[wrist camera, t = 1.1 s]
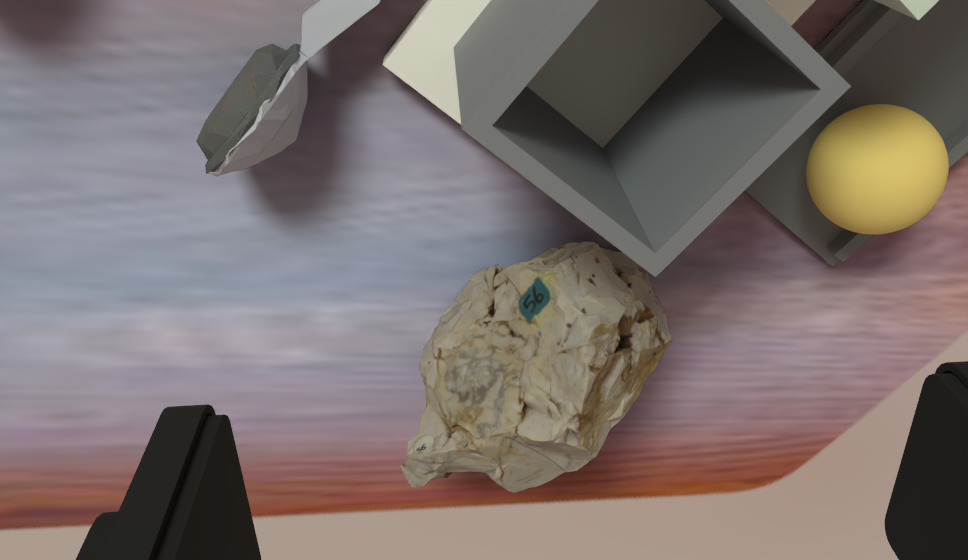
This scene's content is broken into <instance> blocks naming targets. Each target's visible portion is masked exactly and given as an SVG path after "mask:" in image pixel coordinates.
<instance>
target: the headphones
mask: <svg viewBox="0 0 968 560" xmlns="http://www.w3.org/2000/svg"><path fill="white" fill-rule="evenodd" d="M379 2H380V0H320V1H319V2H317V3H316V4H315V5H313V6H312V7H311V8H309V9H308V10H307V11H306V12H304V13H303V16H302V45H301V46H300V45H298V44H294V45H292V46H291V47H290V48H289V49H288V50H287V51H286V50H284V49H282V48H280V47H278V46H276V45H274V44H270V45H268V46H265V47H263V48H260V49H258V50H256V51H255V53H254V54H253V55H252V57H251V58H250V59H249V61H248V62H247V64H246V65H245V66H244V68H243V69H242V70H241V72H240V73H239V74H238V76H237V77H236V79H235V80H234V81H233V83H232V84H231V86H230V87H229V88H228V90H227V91H226V93H225V94H224V95H223V97H222V98H221V100H220V101H219V102H218V104H217V105H216V107H215V108H214V110H213V111H212V112H211V114H210V115H209V117H208V118H207V120H206V121H205V123H204V126H203V128H202V130H201V132H200V134H199V137H198V139H197V143H198V145H199V146H200V148H201V150H202V151H203V153H204V154H205V156H206V158H207V159H208V161H207V163H206V173H210V174H212V175H214V176H219V175H223V174H226V173H229V172H234V171H238V170H242V169H245V168H247V167H250V166H253V165H256V164H258V163H260V162H261V161H263V160H265V159H267V158H269V157H271V156H274V155H276V154H278V153H280V152H281V151H282V150H284V149H285V148H286V147H287V146H288V145H290V144H292V143H293V142H295V141H297V137H298V133H299V129H300V125H301V121H302V117H303V113H304V110H305V107H306V103H307V98H308V86H307V59H308V58H310V57H312V56H313V55H314V54H315V53H317V52H318V51H319V50H320V49H322V48H323V47H324V46H325V45H326V44H328V43H329V42H330V41H331V40H333V39H334V38H335V37H336V36H338V35H339V34H340V33H341V32H343V31H344V30H345V29H347V28H348V27H349V26H350V25H352V24H353V23H354V22H356V21H357V20H358V19H360V18H361V17H362V16H363V15H365V14H366V13H367V12H369V11H370V10H371V9H373V8H374V7H375V6H376V5H378V4H379Z"/></svg>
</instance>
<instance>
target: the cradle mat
mask: <svg viewBox="0 0 968 560" xmlns="http://www.w3.org/2000/svg"><path fill="white" fill-rule="evenodd" d="M814 50H815V51H816V52H817V53H818V54H819V55H820V56H821V57H822V58H823V59H824V60H825V61H826V62H827V63H828V64H829V65H830V66H831V67H832V68H833V69H834V70H835V71H836V72H837V73H838V74H839V75H840V76H841V77H842V78H843V79H844V80H845V81H846V82H847V83H848V84H849V85H850V86H851V87H850V88H849V89H848V90H847V91H846V92H845V93H844V94H843V95H842V96H841V97H840V98H839V99H838V100H837V101H835V102H834V103H833V104H832V105H831V106H830V107H829V108H828V109H827V110H826V111H825V112H824V113H823V114H822V115H821V116H820V117H819V118H818V119H817V120H816V121H815V122H814V123H813V124H812V125H811V126H810V127H809V128H808V129H807V130H806V131H805V132H804V133H803V134H802V135H801V136H800V137H799V138H798V139H797V140H796V141H795V142H794V143H792V144H791V145H790V146H789V147H788V148H787V149H786V150H785V151H784V152H783V153H782V154H781V155H780V156H779V157H778V158H777V159H776V160H775V161H774V162H773V163H772V164H771V165H770V166H769V167H768V168H767V169H766V170H765V171H764V172H763V173H762V174H761V175H760V176H759V177H758V178H757V179H756V180H755V181H754V182H753V183H752V184H751V185H749V186H748V187H747V188H746V189H745V190H744V191H745V192H747V193H748V194H749V195H750V196H751V197H752V198H754V199H755V200H756V201H757V202H758V203H759V204H760V205H762V206H763V207H764V208H765V209H766V210H767V211H769V212H770V213H771V214H772V215H773V216H774V217H776V218H777V219H778V220H779V221H780V222H781V223H783V224H784V225H785V226H786V227H787V228H788V229H790V230H791V231H792V232H793V233H794V234H795V235H796V236H798V237H799V238H800V239H801V240H802V241H803V242H805V243H806V244H807V245H808V246H809V247H810V248H812V249H813V250H814V251H815V252H816V253H817V254H819V255H820V256H821V257H822V258H823V259H824V260H825V261H827V262H828V263H829V264H830V265H831V266H834V265H835V264H836V263H837V262H838V261H839V260H841V261H842V262H844V261H845V260H846V259H848V258H849V257H850V256H851V255H852V254H853V253H854V252H855V251H857V250H858V249H859V248H860V247H861V246H862V245H863V244H864V243H866V242H867V241H868V240H869V239H870V238H871V237H872V236H873V235H875V234H861V233H856V232H852V231H849V230H847V229H844V228H842V227H840V226H838V225H836V224H834V223H833V222H832V221H830V220H829V219H828V218H827V217H825V216H824V215H823V213H822V212H821V211H820V210H819V209H818V207H817V206H816V205H815V203H814V201H813V199H812V197H811V195H810V192H809V189H808V186H807V178H806V166H807V160H808V156H809V153H810V150H811V148H812V146H813V143H814V142H815V140H816V138H817V137H818V136H819V134H820V133H821V132H822V130H823V129H824V128H825V127H826V126H827V125H828V124H829V123H831V122H832V121H833V120H834V119H836V118H837V117H839V116H840V115H842V114H844V113H846V112H848V111H850V110H853V109H855V108H859V107H862V106H866V105H873V104H889V105H895V106H900V107H904V108H907V109H909V110H912V111H914V112H916V113H917V114H919V115H921V116H922V117H924V118H925V119H926V120H927V121H928V122H930V123H931V124H932V125H933V126H934V128H935V129H936V130H937V131H938V133H939V134H940V136H941V138H942V140H943V142H944V144H945V147H946V150H947V154H948V163H949V168H950V167H951V166H952V165H953V164H954V163H956V162H957V161H958V160H959V159H960V158H961V157H962V156H963V155H965V154H966V153H967V152H968V0H939V1H938V2H937V3H936V4H935V5H934V6H933V7H932V8H931V9H930V10H929V11H928V12H927V13H926V14H925V15H924V16H922V17H921V18H920V19H919V20H916V19H914V18H912V17H910V16H908V15H905V14H903V13H901V12H899V11H896V10H894V9H892V8H890V7H887V6H885V5H883V4H881V3H878V2H876V1H874V0H863V1H862V2H861V3H860V4H859V5H858V6H857V7H856V8H855V9H854V10H853V11H852V12H851V13H850V14H849V15H848V16H847V17H846V18H845V19H844V20H843V21H842V22H841V23H840V24H839V25H838V26H837V27H836V28H835V29H834V30H833V31H832V32H831V33H830V34H829V35H828V36H827V37H826V38H825V39H824V40H823V41H822V42H821V43H820V44H819V45H818V46H817V47H816V48H815V49H814Z"/></svg>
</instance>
